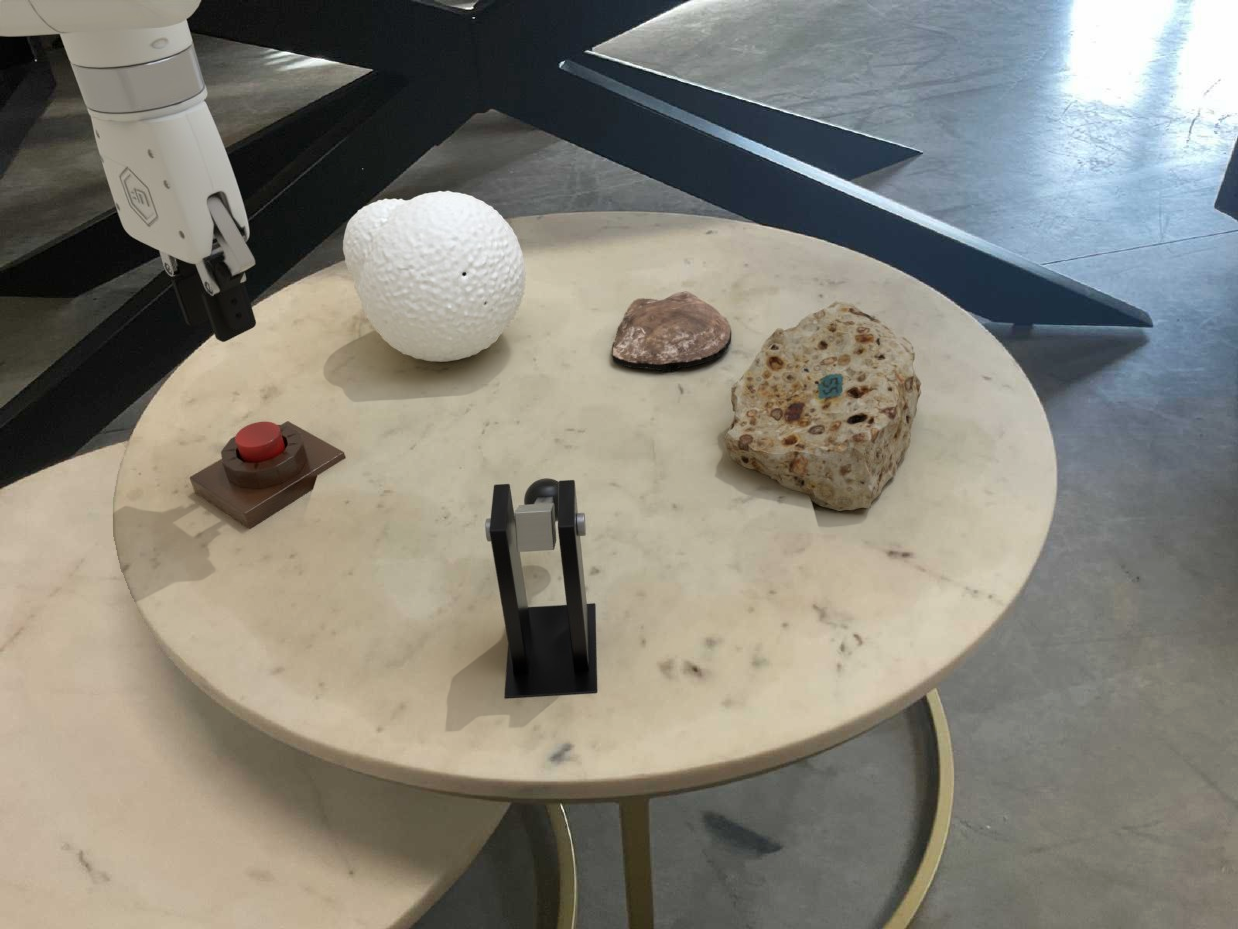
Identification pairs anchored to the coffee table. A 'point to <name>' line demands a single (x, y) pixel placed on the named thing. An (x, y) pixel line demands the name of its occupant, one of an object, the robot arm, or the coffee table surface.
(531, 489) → the lever
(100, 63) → the robot arm
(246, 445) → the button
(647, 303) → the shell
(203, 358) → the coffee table surface
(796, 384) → the rock
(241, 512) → the control block
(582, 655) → the bracket
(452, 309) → the decorative orb
